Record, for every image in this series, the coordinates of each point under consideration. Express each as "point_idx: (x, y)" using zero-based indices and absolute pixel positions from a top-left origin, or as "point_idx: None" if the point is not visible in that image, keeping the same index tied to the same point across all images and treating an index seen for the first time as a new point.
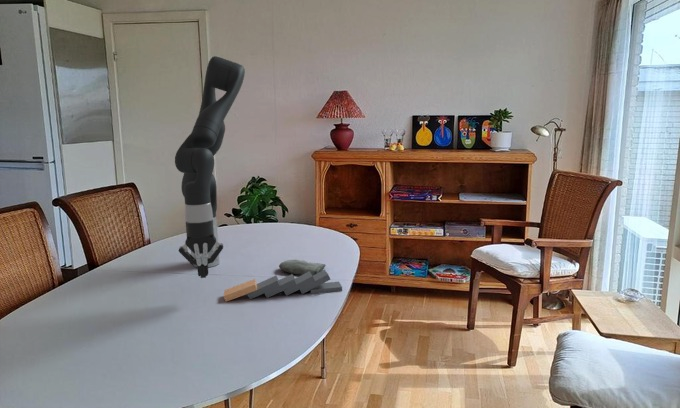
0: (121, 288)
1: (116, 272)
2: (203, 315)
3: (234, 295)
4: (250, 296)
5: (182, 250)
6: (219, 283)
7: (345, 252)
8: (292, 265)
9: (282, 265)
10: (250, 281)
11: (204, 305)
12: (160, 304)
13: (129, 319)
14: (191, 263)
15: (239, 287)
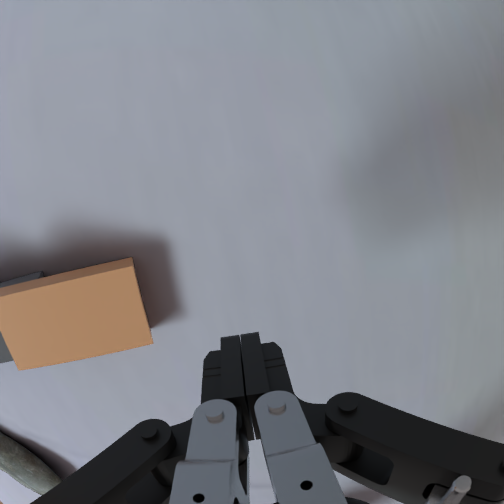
0: (497, 376)
1: None
2: (204, 93)
3: (84, 272)
4: (33, 276)
5: (494, 473)
6: None
7: (3, 496)
8: (17, 465)
9: (47, 478)
10: (29, 355)
11: (226, 220)
12: (420, 253)
13: (483, 123)
14: (355, 397)
15: (66, 322)
